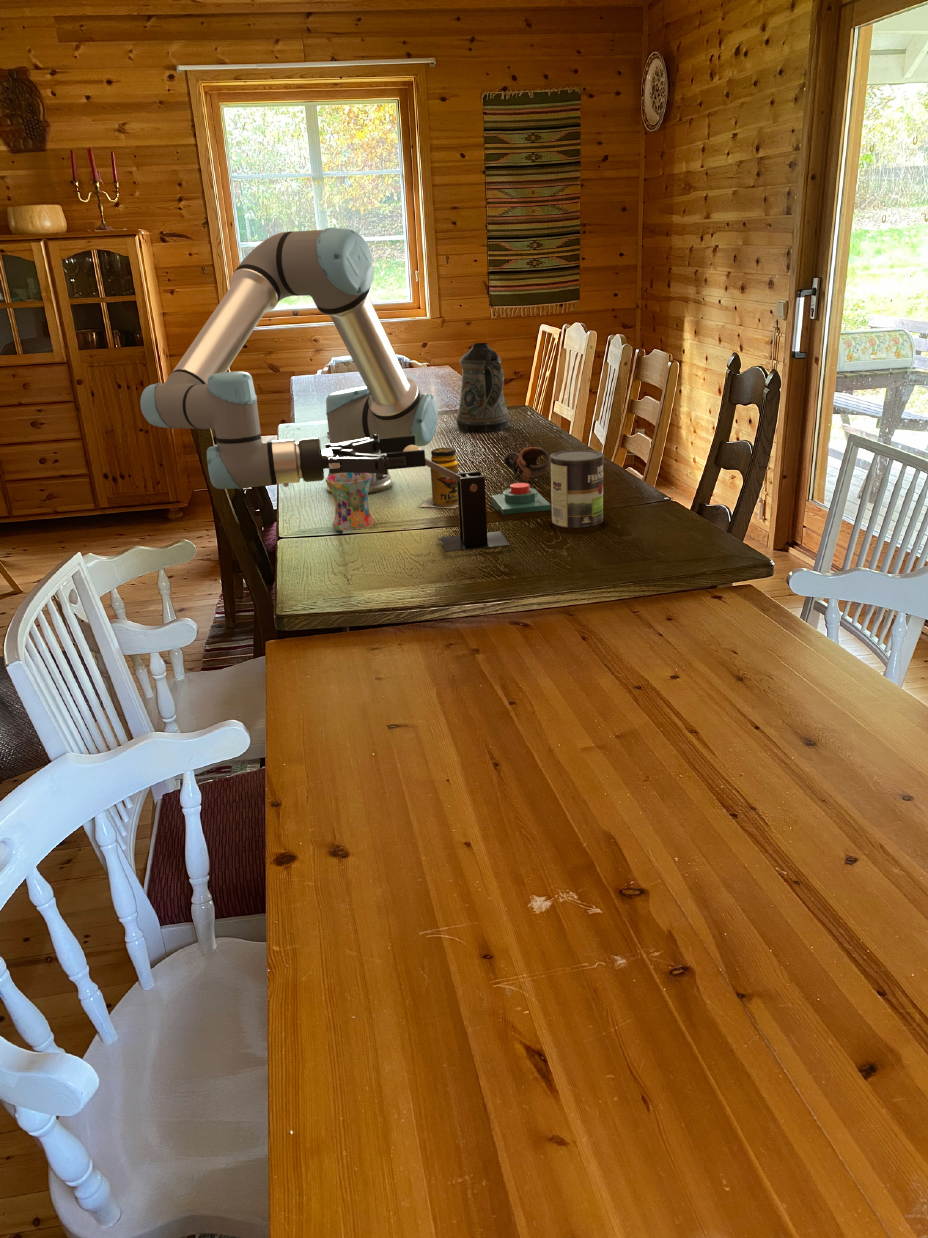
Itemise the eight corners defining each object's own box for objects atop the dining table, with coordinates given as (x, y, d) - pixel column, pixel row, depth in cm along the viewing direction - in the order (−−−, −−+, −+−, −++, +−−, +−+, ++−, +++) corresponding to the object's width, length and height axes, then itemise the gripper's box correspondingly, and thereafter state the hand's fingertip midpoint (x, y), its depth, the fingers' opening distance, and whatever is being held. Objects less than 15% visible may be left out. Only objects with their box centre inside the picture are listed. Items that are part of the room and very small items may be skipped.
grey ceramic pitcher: (476, 421, 292) (472, 339, 283) (528, 425, 281) (526, 340, 272) (445, 430, 280) (440, 346, 271) (498, 435, 269) (495, 347, 260)
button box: (491, 504, 198) (491, 486, 196) (536, 500, 199) (536, 482, 198) (503, 519, 187) (502, 500, 186) (550, 514, 188) (550, 496, 187)
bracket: (445, 557, 166) (441, 483, 161) (438, 543, 174) (434, 472, 169) (510, 550, 168) (507, 477, 163) (500, 537, 176) (497, 466, 171)
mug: (373, 533, 183) (368, 481, 179) (327, 535, 183) (321, 483, 179) (381, 517, 194) (376, 467, 190) (338, 518, 194) (332, 469, 190)
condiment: (456, 508, 197) (452, 453, 192) (419, 507, 199) (415, 452, 195) (466, 499, 203) (463, 445, 199) (430, 498, 206) (426, 445, 201)
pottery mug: (554, 474, 223) (558, 448, 216) (542, 499, 217) (546, 474, 211) (507, 461, 225) (510, 435, 218) (494, 486, 219) (497, 460, 213)
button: (508, 491, 193) (508, 483, 193) (527, 490, 194) (527, 481, 193) (512, 496, 190) (512, 488, 189) (531, 494, 190) (531, 486, 190)
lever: (399, 461, 161) (409, 443, 160) (397, 457, 164) (406, 439, 164) (474, 498, 166) (483, 481, 165) (470, 493, 169) (480, 476, 168)
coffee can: (611, 521, 182) (612, 450, 177) (590, 535, 174) (590, 462, 169) (565, 515, 187) (564, 447, 182) (541, 529, 179) (540, 458, 174)
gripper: (301, 466, 173) (412, 456, 176) (303, 499, 150) (431, 486, 153) (296, 427, 170) (409, 417, 173) (297, 453, 147) (427, 442, 150)
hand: (420, 450), depth 163 cm, fingers open, 13 cm apart
